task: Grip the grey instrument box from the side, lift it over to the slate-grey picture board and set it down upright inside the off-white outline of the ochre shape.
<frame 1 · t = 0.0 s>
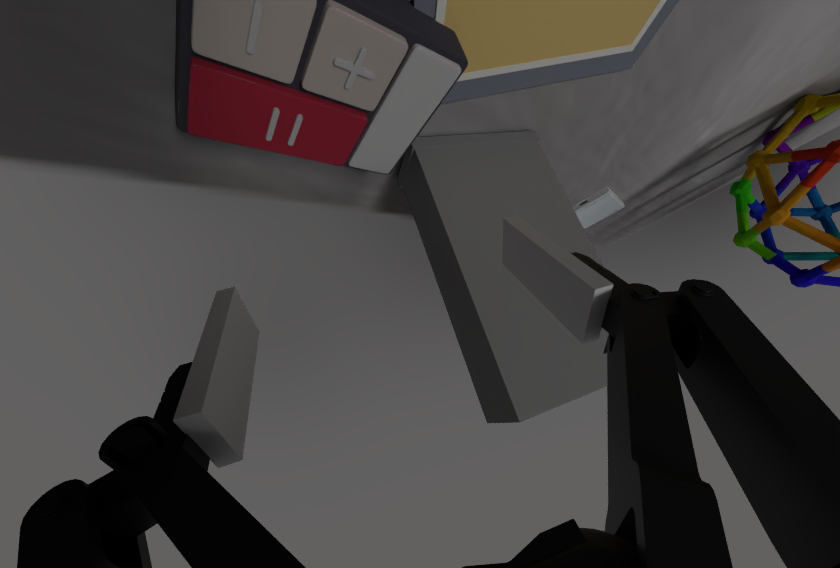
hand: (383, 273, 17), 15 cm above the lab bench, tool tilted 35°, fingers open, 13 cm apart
hard drive: (590, 204, 62), on the lab bench
grey instrument box: (463, 152, 35), on the lab bench
geometric model: (798, 109, 51), on the lab bench
calculator: (316, 56, 22), on the lab bench, touching picture board
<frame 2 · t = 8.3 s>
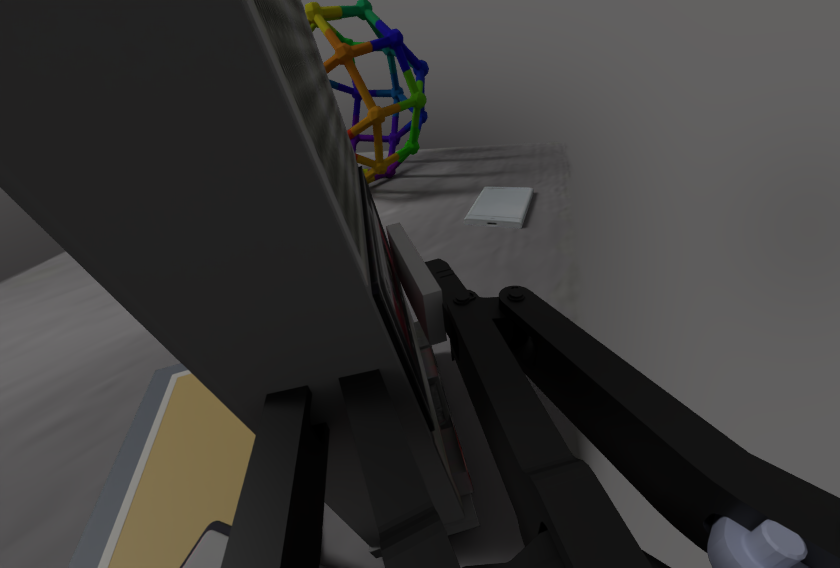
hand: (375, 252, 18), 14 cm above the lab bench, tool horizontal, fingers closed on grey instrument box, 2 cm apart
hard drive: (500, 212, 53), on the lab bench
grey instrument box: (412, 429, 24), on the lab bench, touching gripper
picture board: (214, 449, 25), on the lab bench
geometric model: (369, 183, 70), on the lab bench
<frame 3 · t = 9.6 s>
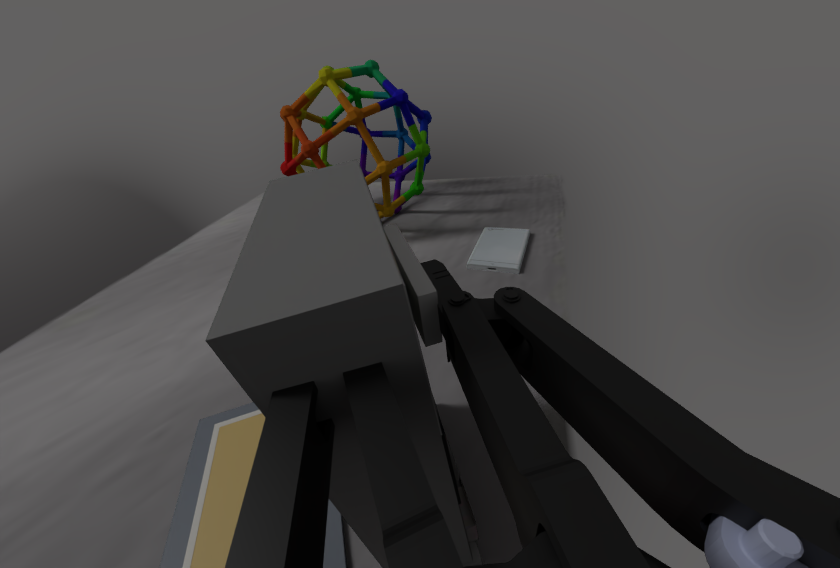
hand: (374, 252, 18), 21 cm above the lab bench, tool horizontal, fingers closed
hard drive: (499, 254, 57), on the lab bench
grey instrument box: (421, 481, 29), on the lab bench
picture board: (258, 496, 30), on the lab bench
geometric model: (377, 218, 75), on the lab bench
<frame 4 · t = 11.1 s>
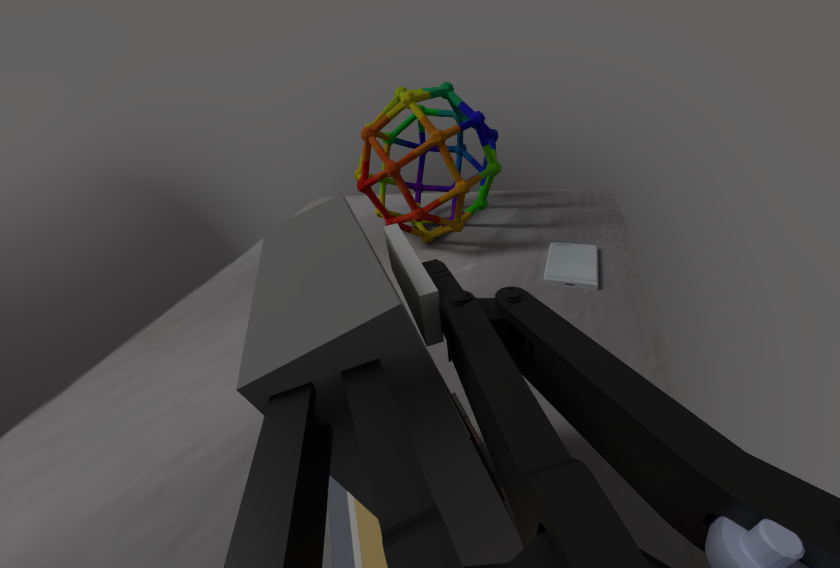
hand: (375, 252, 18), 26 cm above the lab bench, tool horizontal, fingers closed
hard drive: (570, 269, 60), on the lab bench
grey instrument box: (465, 488, 29), point 4 cm above the lab bench
picture board: (404, 506, 32), on the lab bench
geometric model: (436, 231, 77), on the lab bench
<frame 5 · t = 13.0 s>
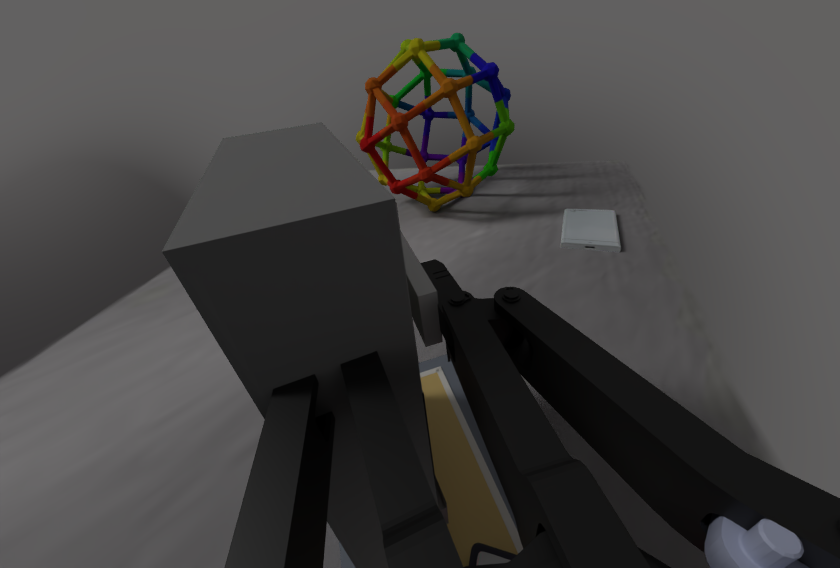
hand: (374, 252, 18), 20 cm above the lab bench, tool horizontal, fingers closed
hard drive: (588, 234, 56), on the lab bench
grey instrument box: (385, 473, 28), resting on picture board, touching gripper
picture board: (420, 469, 28), on the lab bench
geometric model: (442, 201, 73), on the lab bench
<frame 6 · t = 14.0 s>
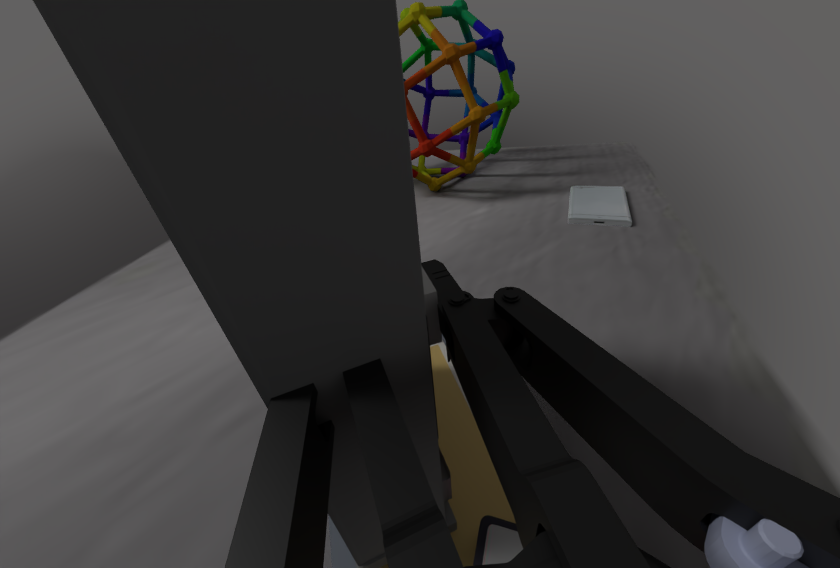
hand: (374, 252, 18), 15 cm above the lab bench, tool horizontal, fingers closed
hard drive: (596, 211, 53), on the lab bench
grey instrument box: (381, 447, 25), resting on picture board, touching gripper
picture board: (420, 443, 25), on the lab bench
geometric model: (443, 182, 70), on the lab bench
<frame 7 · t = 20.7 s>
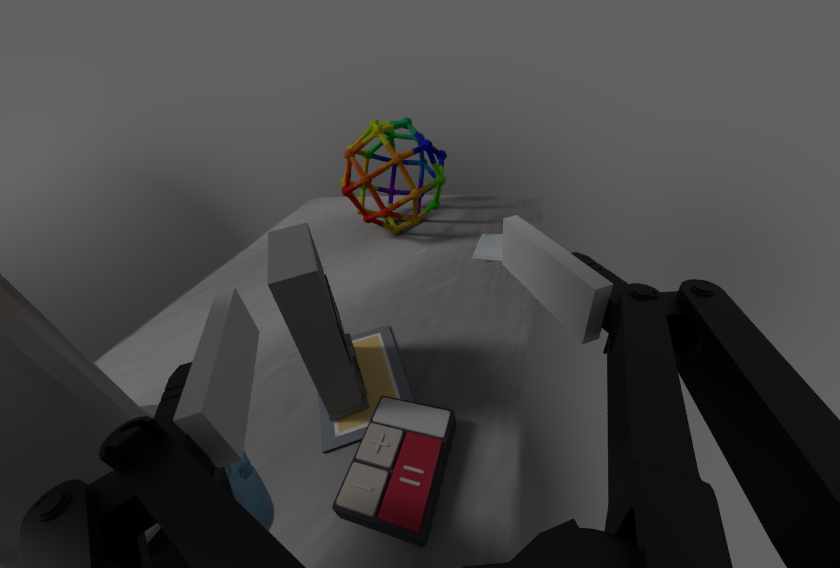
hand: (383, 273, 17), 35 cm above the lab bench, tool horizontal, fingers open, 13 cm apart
hard drive: (493, 252, 84), on the lab bench
grey instrument box: (344, 381, 55), resting on picture board
picture board: (361, 379, 56), on the lab bench
geometric model: (403, 225, 101), on the lab bench
calculator: (402, 468, 44), on the lab bench
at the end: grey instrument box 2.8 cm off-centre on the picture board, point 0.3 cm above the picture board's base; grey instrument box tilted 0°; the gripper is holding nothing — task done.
